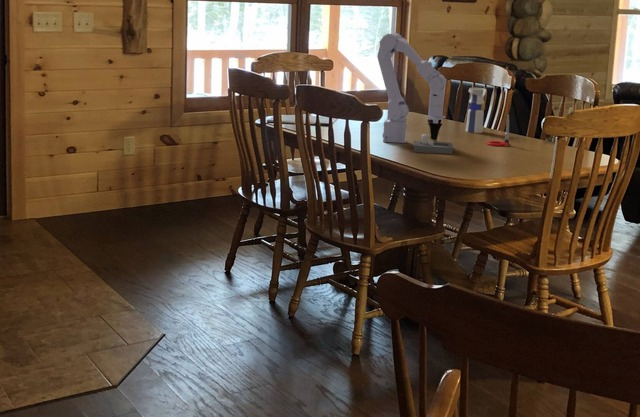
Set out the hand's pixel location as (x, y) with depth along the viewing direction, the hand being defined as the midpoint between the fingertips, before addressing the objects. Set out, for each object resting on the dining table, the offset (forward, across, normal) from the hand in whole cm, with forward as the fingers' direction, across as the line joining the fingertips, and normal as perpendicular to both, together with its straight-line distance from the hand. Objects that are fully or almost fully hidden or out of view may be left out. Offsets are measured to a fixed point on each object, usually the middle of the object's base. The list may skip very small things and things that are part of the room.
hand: (433, 138), depth 354 cm
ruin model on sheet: (+4, +41, +18) cm, 44 cm away
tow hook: (+3, +10, -27) cm, 29 cm away
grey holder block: (+3, -11, 0) cm, 11 cm away
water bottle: (+3, +41, -20) cm, 46 cm away
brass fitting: (+3, 0, 0) cm, 3 cm away
